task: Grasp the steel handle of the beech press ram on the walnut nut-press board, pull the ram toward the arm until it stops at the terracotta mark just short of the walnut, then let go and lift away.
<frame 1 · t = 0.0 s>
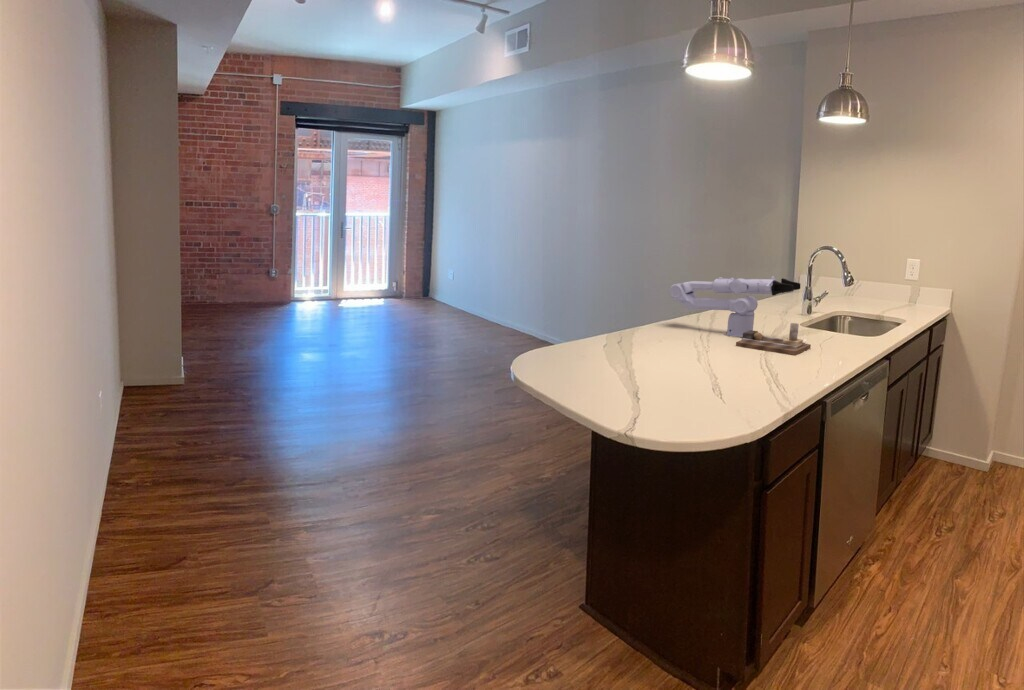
hand: (796, 287, 272), 22 cm above the worktop, fingers open, 7 cm apart
press ram: (793, 334, 263), point 6 cm above the worktop, slide at 0.0 cm
press board: (772, 347, 269), on the worktop
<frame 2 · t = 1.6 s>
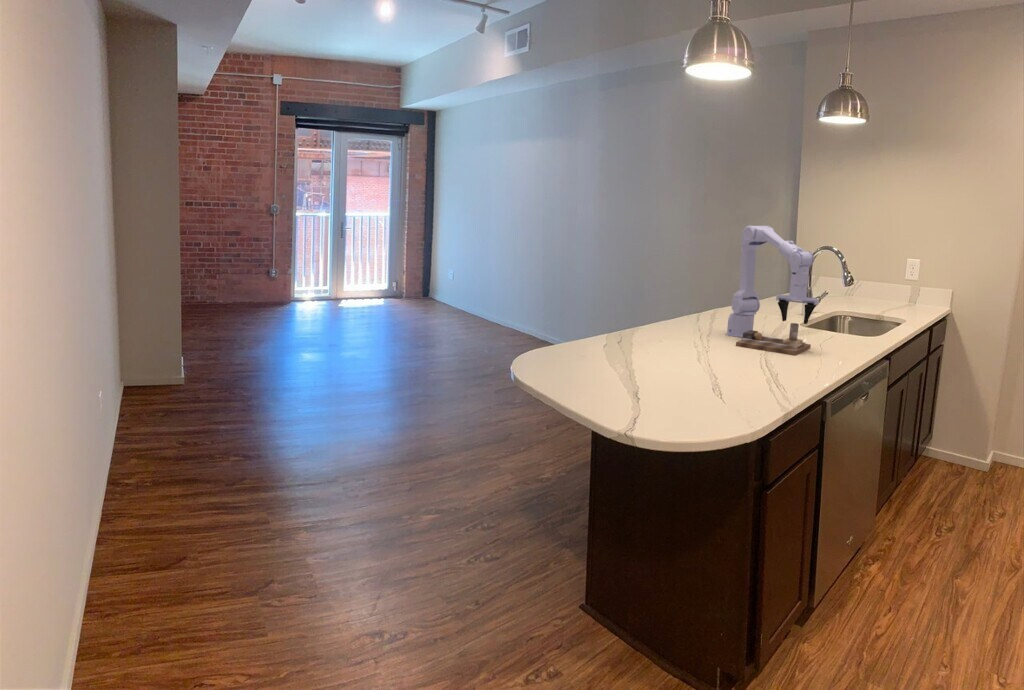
hand: (794, 322, 262), 10 cm above the worktop, fingers open, 7 cm apart
nothing on the worktop moved.
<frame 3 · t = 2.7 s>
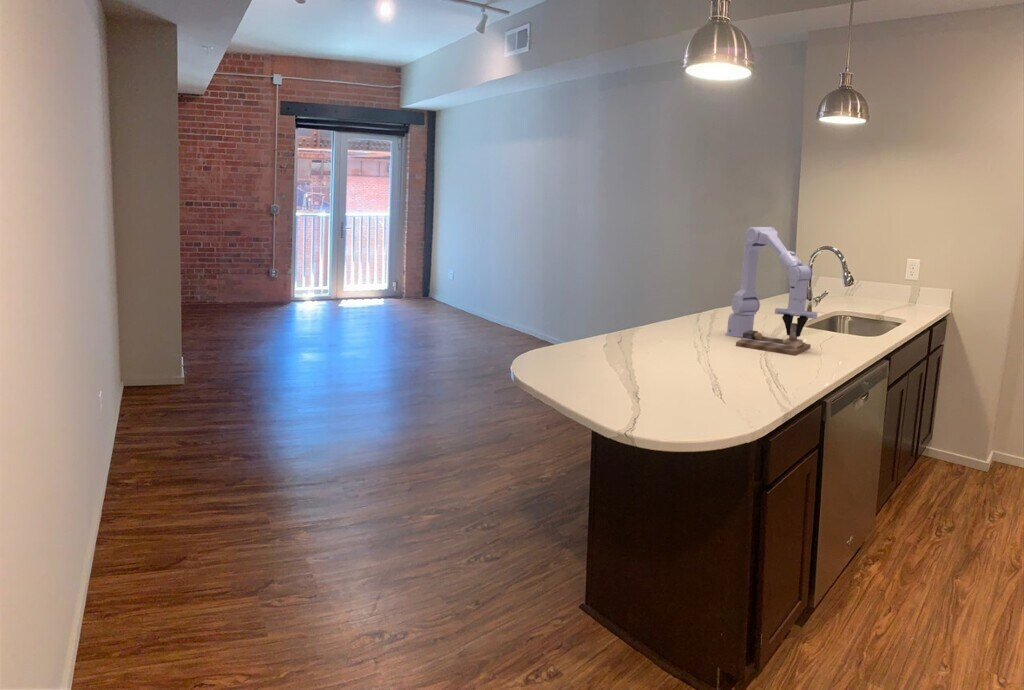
hand: (793, 335, 263), 5 cm above the worktop, fingers closed on press ram, 3 cm apart
press ram: (793, 334, 263), point 6 cm above the worktop, slide at 0.0 cm, touching gripper
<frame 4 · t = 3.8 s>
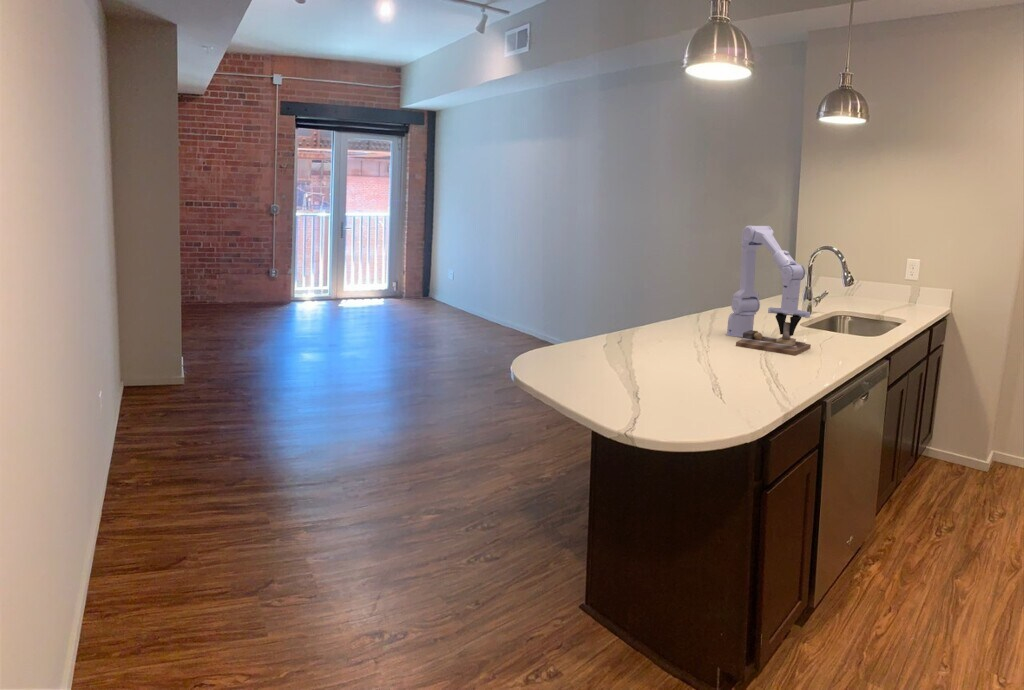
hand: (786, 334, 265), 5 cm above the worktop, fingers closed on press ram, 3 cm apart
press ram: (786, 333, 265), point 6 cm above the worktop, slide at 2.5 cm, touching gripper
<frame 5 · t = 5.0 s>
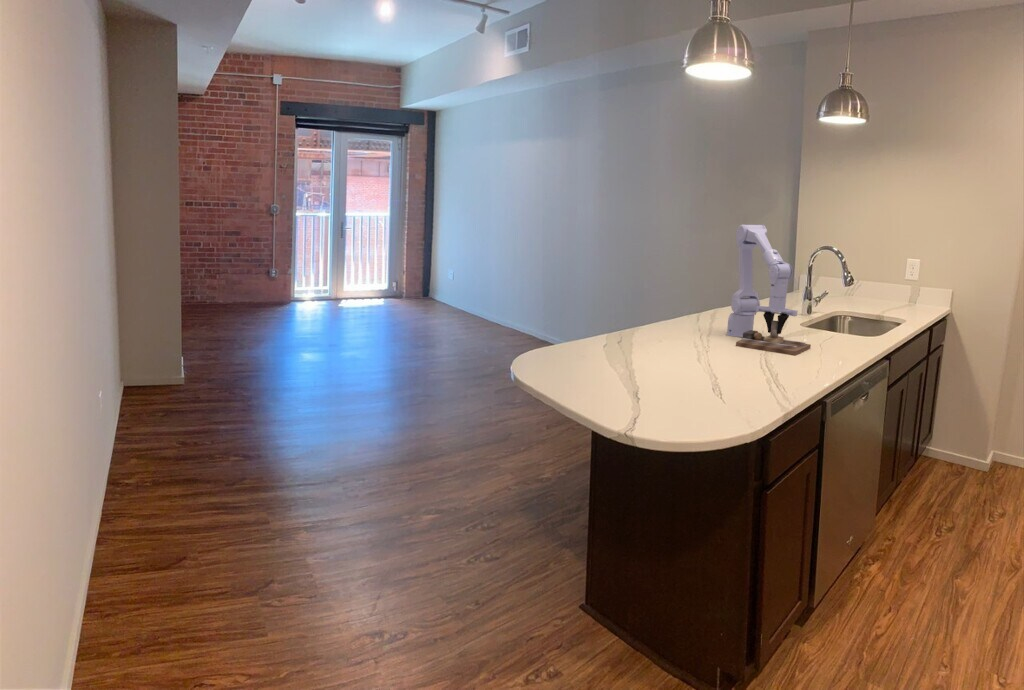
hand: (774, 333, 267), 5 cm above the worktop, fingers closed on press ram, 3 cm apart
press ram: (774, 331, 267), point 6 cm above the worktop, slide at 7.0 cm, touching gripper
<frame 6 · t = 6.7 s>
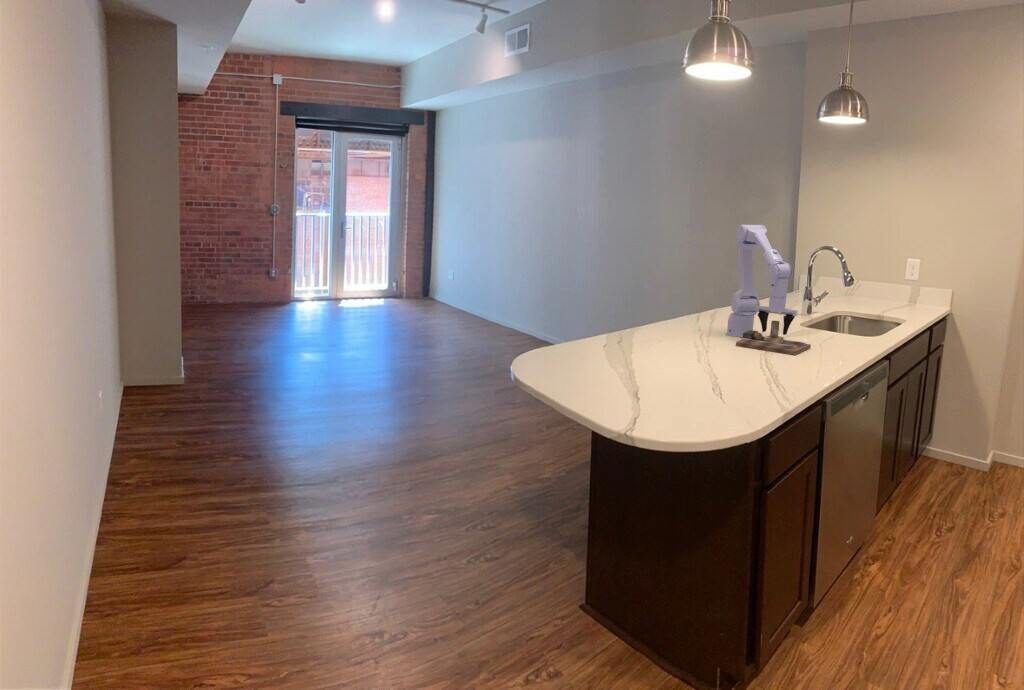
hand: (774, 332, 267), 5 cm above the worktop, fingers open, 7 cm apart
press ram: (774, 331, 267), point 6 cm above the worktop, slide at 7.0 cm
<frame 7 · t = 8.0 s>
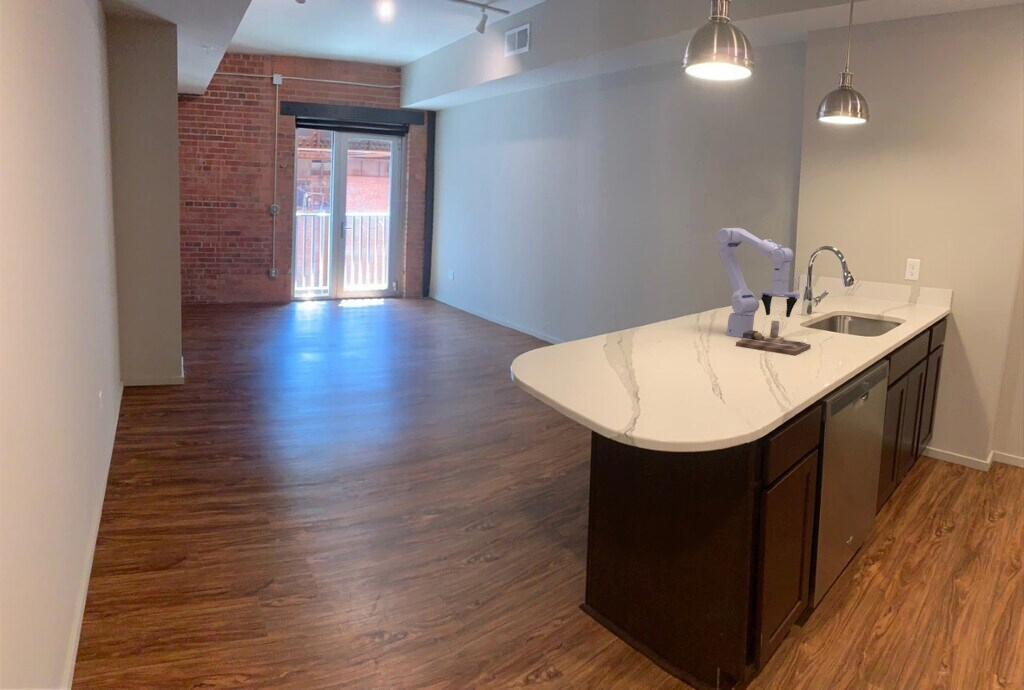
hand: (777, 315, 275), 10 cm above the worktop, fingers open, 7 cm apart
nothing on the worktop moved.
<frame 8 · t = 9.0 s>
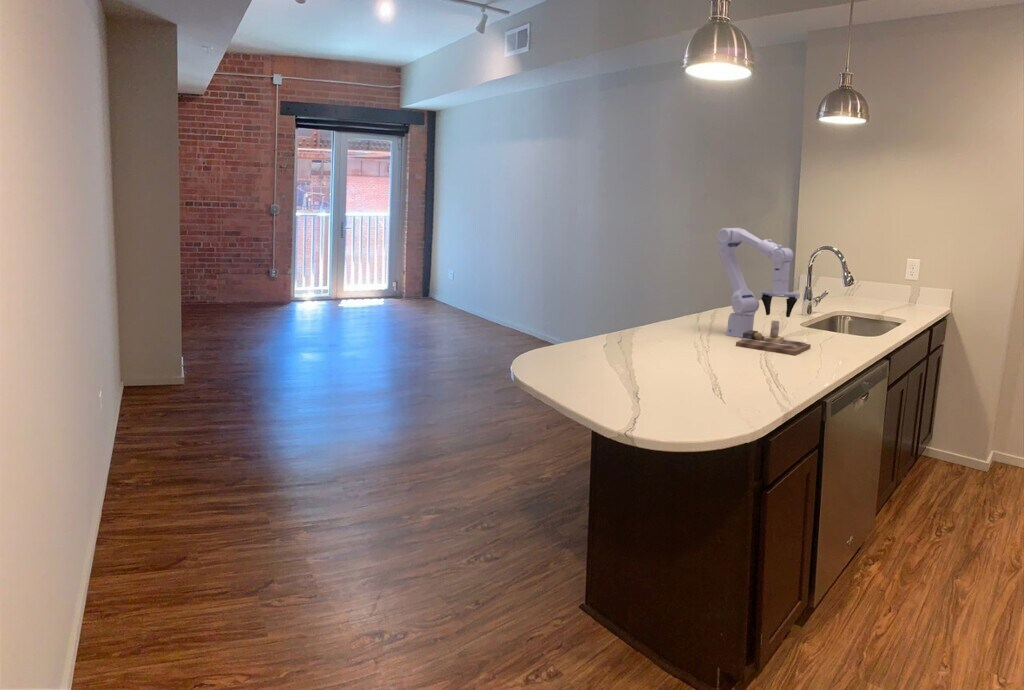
hand: (777, 315, 275), 10 cm above the worktop, fingers open, 7 cm apart
nothing on the worktop moved.
at the end: press ram slide at 7.0 cm; the gripper is holding nothing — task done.
